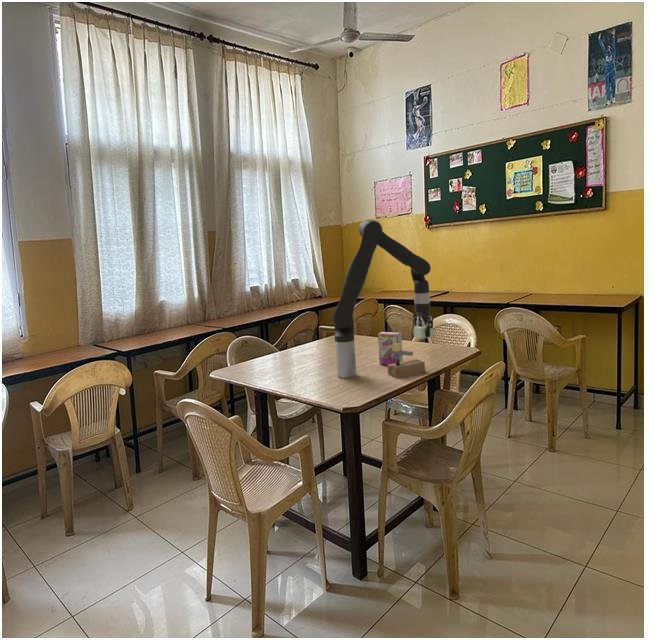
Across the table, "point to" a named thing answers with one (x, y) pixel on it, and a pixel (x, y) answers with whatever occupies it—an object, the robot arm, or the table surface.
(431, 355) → the table surface
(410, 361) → the case
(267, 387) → the table surface
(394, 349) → the key
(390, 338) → the candy bar box
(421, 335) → the pale green block
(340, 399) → the table surface
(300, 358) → the table surface
